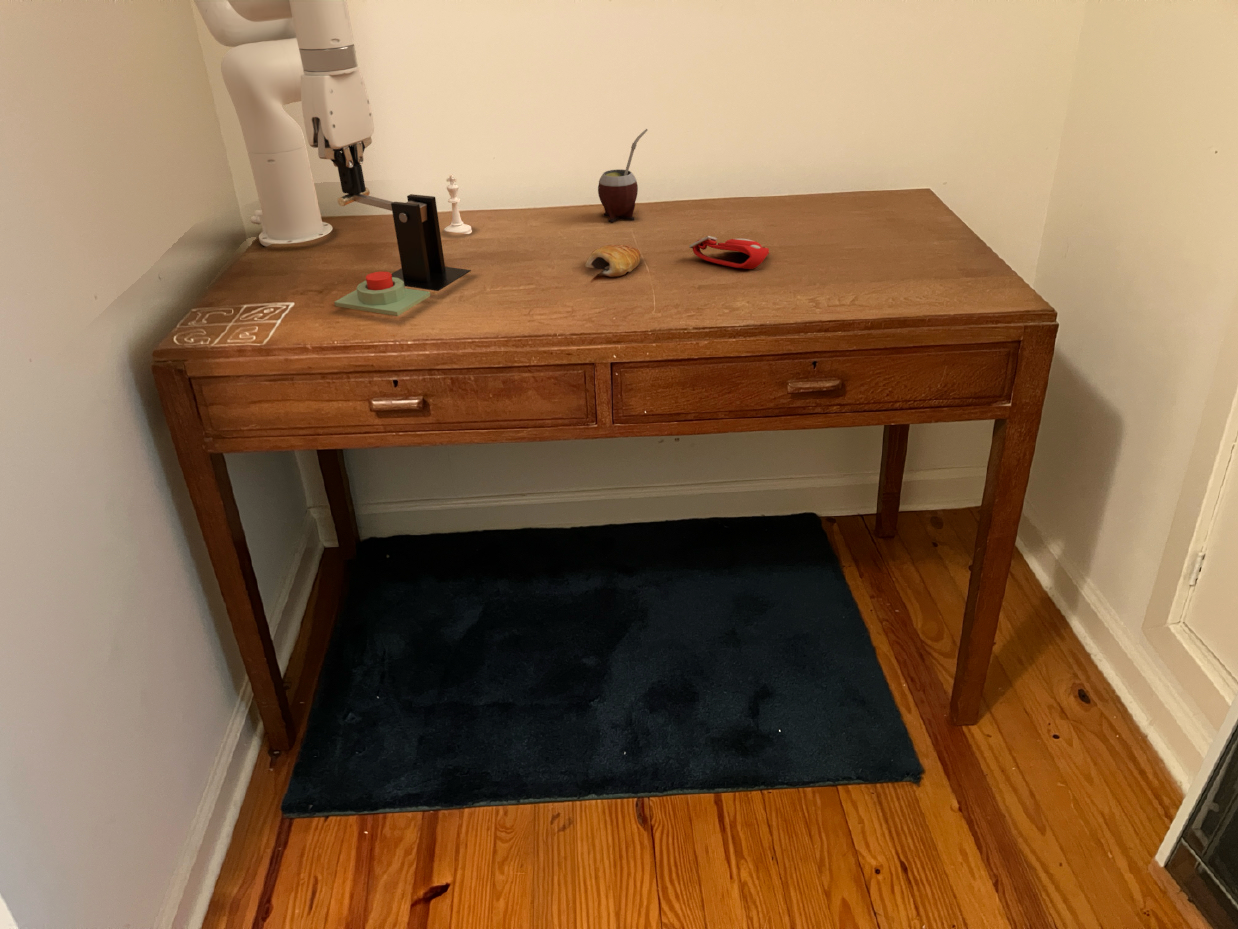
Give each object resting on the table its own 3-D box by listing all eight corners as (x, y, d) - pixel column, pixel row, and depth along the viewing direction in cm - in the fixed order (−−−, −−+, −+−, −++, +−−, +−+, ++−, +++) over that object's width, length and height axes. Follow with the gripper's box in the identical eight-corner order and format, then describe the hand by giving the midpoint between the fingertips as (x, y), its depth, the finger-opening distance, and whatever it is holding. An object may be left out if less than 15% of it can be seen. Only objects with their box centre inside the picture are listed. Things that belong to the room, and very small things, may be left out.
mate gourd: (592, 220, 164) (587, 134, 157) (615, 208, 170) (612, 124, 162) (627, 226, 161) (624, 138, 153) (649, 213, 167) (648, 128, 159)
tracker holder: (754, 240, 149) (784, 243, 140) (750, 267, 150) (780, 272, 141) (686, 232, 145) (713, 234, 135) (683, 260, 146) (709, 265, 137)
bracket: (378, 288, 139) (363, 204, 132) (413, 269, 146) (400, 188, 139) (439, 297, 135) (426, 211, 128) (471, 277, 142) (461, 194, 135)
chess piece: (466, 237, 159) (459, 178, 154) (440, 236, 160) (432, 178, 154) (476, 228, 163) (469, 171, 158) (450, 227, 164) (442, 170, 159)
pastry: (617, 255, 148) (616, 232, 146) (651, 262, 145) (651, 239, 143) (582, 273, 142) (581, 249, 140) (618, 281, 138) (617, 257, 136)
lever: (338, 208, 137) (336, 192, 135) (363, 198, 141) (362, 182, 140) (411, 227, 133) (410, 211, 131) (434, 216, 137) (434, 200, 136)
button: (362, 290, 130) (360, 278, 129) (378, 281, 133) (376, 270, 132) (383, 293, 129) (381, 281, 128) (398, 284, 132) (396, 272, 131)
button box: (336, 312, 131) (331, 289, 130) (370, 293, 138) (366, 271, 136) (399, 323, 127) (394, 299, 126) (431, 302, 134) (428, 279, 132)
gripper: (342, 52, 135) (365, 178, 145) (271, 68, 123) (301, 203, 133) (383, 53, 132) (404, 181, 142) (314, 69, 121) (342, 208, 130)
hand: (354, 192), depth 137 cm, fingers closed
